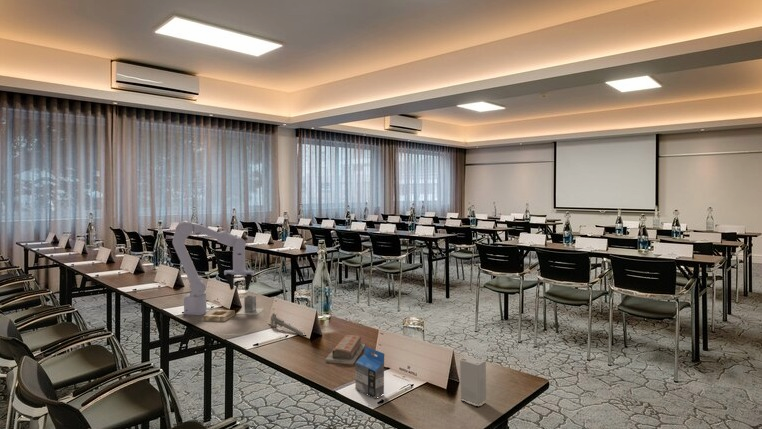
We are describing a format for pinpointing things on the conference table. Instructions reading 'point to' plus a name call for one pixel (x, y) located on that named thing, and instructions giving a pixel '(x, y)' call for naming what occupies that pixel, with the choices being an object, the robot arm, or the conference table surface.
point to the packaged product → (346, 350)
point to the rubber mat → (249, 312)
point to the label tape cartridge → (370, 373)
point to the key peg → (250, 303)
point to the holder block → (219, 315)
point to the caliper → (283, 324)
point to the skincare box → (473, 380)
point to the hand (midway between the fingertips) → (239, 289)
